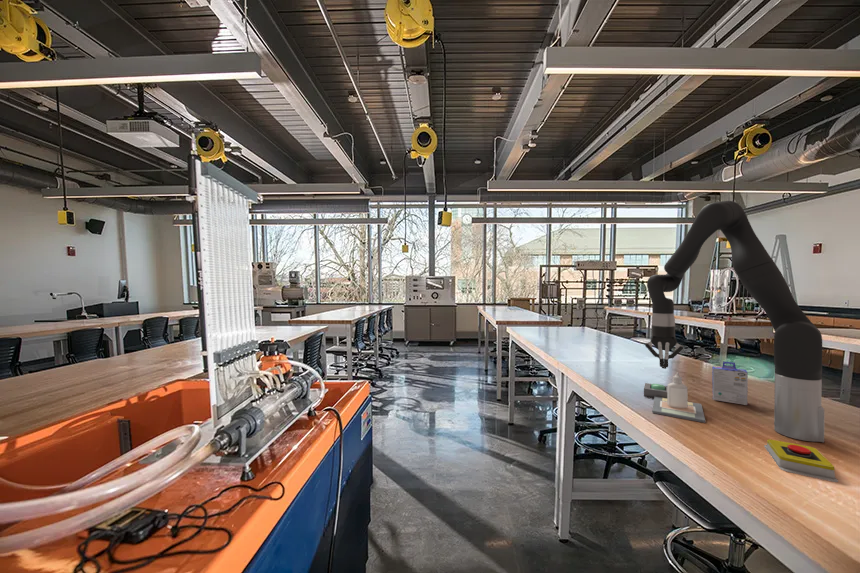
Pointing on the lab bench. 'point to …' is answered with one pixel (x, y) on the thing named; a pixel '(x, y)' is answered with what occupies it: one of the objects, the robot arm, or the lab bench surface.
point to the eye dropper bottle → (677, 393)
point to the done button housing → (654, 391)
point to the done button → (658, 386)
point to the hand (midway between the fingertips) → (664, 368)
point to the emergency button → (800, 460)
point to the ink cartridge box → (729, 384)
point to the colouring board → (678, 410)
